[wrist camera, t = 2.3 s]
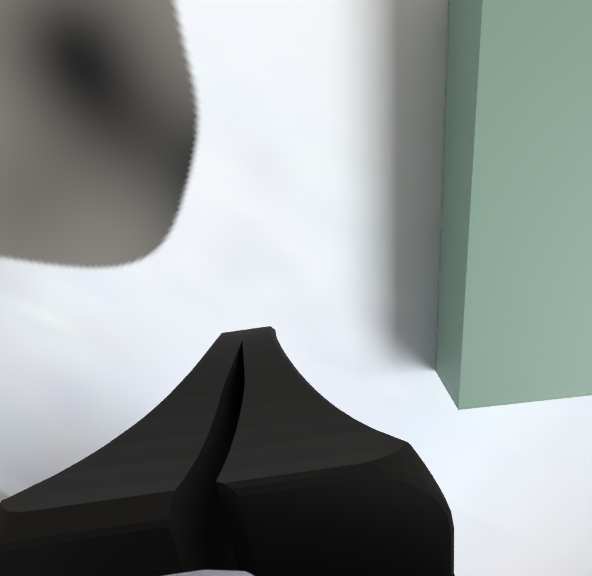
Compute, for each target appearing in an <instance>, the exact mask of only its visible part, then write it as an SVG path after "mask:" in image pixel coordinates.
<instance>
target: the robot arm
mask: <svg viewBox="0 0 592 576" xmlns="http://www.w3.org/2000/svg"><path fill="white" fill-rule="evenodd" d="M0 576H455V575H454V526H453V520H452V515H451V510H450V508H449V506H448V504H447V501H446V499H445V497H444V495H443V493H442V491H441V489H440V488H439V486H438V484H437V483H436V481H435V479H434V478H433V476H432V474H431V473H430V471H429V470H428V468H427V467H426V465H425V464H424V462H423V461H422V460H421V458H420V457H419V455H418V454H417V453H416V451H415V450H414V449H413V447H412V446H411V445H410V444H409V443H408V442H406V441H403V440H401V439H398V438H395V437H393V436H390V435H388V434H385V433H383V432H380V431H377V430H375V429H373V428H371V427H369V426H367V425H365V424H363V423H361V422H359V421H357V420H355V419H353V418H352V417H350V416H349V415H347V414H346V413H344V412H343V411H341V410H339V409H338V408H336V407H335V406H334V405H333V404H331V403H330V402H329V401H328V400H326V399H325V398H324V397H323V396H322V395H321V394H319V393H318V392H317V391H316V390H315V389H314V388H313V387H312V386H311V385H310V384H309V383H308V382H307V381H306V380H305V379H304V377H303V376H302V375H301V374H300V373H299V372H298V370H297V369H296V368H295V367H294V365H293V364H292V363H291V361H290V360H289V358H288V357H287V356H286V354H285V353H284V351H283V349H282V347H281V346H280V344H279V342H278V340H277V337H276V332H275V329H273V328H272V327H270V326H268V327H261V328H254V329H247V330H240V331H233V332H226V333H222V334H221V335H220V336H219V337H218V338H217V340H216V341H215V342H214V343H213V345H212V346H211V347H210V349H209V350H208V351H207V352H206V354H205V355H204V356H203V357H202V359H201V360H200V361H199V362H198V364H197V365H196V366H195V367H194V368H193V370H192V371H191V372H190V373H189V374H188V375H187V376H186V377H185V378H184V380H183V381H182V382H181V383H180V384H179V385H178V386H177V387H176V388H175V389H174V390H173V391H172V392H171V393H170V394H169V395H168V396H167V397H166V398H165V399H164V400H163V401H162V402H161V403H160V404H159V405H158V406H157V407H155V408H154V409H153V410H152V411H151V412H149V413H148V414H147V415H146V416H145V417H144V418H142V419H141V420H140V421H139V422H137V423H136V424H135V425H133V426H132V427H131V428H129V429H128V430H126V431H125V432H124V433H122V434H121V435H119V436H118V437H117V438H115V439H114V440H112V441H111V442H110V443H108V444H107V445H105V446H104V447H102V448H101V449H99V450H97V451H96V452H94V453H93V454H91V455H89V456H88V457H86V458H85V459H83V460H81V461H79V462H78V463H76V464H74V465H72V466H71V467H69V468H67V469H65V470H63V471H62V472H60V473H58V474H56V475H54V476H52V477H50V478H48V479H46V480H44V481H42V482H40V483H38V484H36V485H34V486H32V487H30V488H28V489H26V490H24V491H21V492H19V493H17V494H15V495H13V496H11V497H9V498H7V499H4V500H2V501H1V503H0Z"/></svg>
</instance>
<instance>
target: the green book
mask: <svg viewBox="0 0 592 576" xmlns="http://www.w3.org/2000/svg"><path fill="white" fill-rule="evenodd" d="M436 373H437V374H438V376H439V378H440V379H441V381H442V383H443V384H444V386H445V388H446V390H447V391H448V393H449V395H450V396H451V398H452V400H453V401H454V403H455V405H456V406H457V408H458V410H461V409H470V408H479V407H488V406H497V405H506V404H515V403H524V402H533V401H542V400H551V399H560V398H570V397H579V396H588V395H592V0H449V7H448V36H447V64H446V92H445V121H444V149H443V178H442V206H441V234H440V263H439V291H438V320H437V348H436Z"/></svg>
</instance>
